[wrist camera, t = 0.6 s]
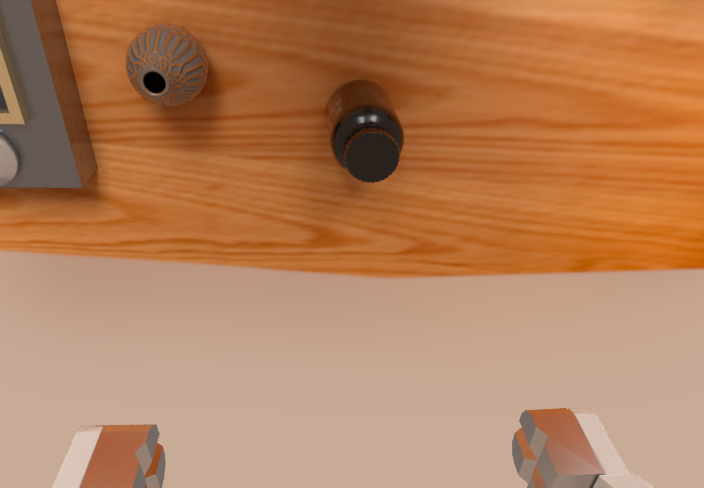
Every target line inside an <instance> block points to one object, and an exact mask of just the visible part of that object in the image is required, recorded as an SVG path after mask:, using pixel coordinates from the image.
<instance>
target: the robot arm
mask: <svg viewBox="0 0 704 488" xmlns="http://www.w3.org/2000/svg"><path fill="white" fill-rule="evenodd" d="M519 421H520V423H521V426H522V428H521V429H519V430H518V431H517V432H515V434H514V438H513V441H512V454H513V459H514V464H515V467H516V469H517V472H518V475H519V476H520V477H522V478H523V479H524V480H525V481H526V482H527V483H528V487H527V488H654V487H653V486H652V485H650V484H649V483H648V482H646V481H645V480H644V479H642V478H641V477H640V476H639V475H637V474H635V473H634V474H632V473H629V472H628V470H627V468H626V467H625V465H624V463H623V461H622V459H621V458H620V456H619V454H618V452H617V451H616V449H615V447H614V445H613V444H612V442H611V440H610V438H609V436H608V435H607V433H606V431H605V429H604V428H603V426H602V424H601V422H600V420H599V419H598V417H597V415H596V414H595V412H594V411H593V410H592V409H591V408H575V409H566V408H560V409H541V410H525V411H524V412H523V413H522V414H521V417H520V420H519ZM158 437H159V431H158V429H157V425H100V426H99V425H98V426H81V427H80V429H79V430H78V431H77V432H76V433H75V435H74V438H73V440H72V442H71V445H70V447H69V449H68V451H67V454H66V456H65V458H64V460H63V463H62V465H61V467H60V470H59V472H58V474H57V477H56V479H55V481H54V484H53V486H52V488H162V485H163V480H164V472H165V453H164V449H163V446H161V445H160V444H158V443H157V441H158Z"/></svg>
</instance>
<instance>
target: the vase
mask: <svg viewBox="0 0 704 488" xmlns="http://www.w3.org/2000/svg"><path fill="white" fill-rule="evenodd" d="M126 69H127V74H128V77H129V80H130V82H131V84H132V85H133V87H134V88H135V90H136V91H137V92H138V93H139V94H140V95H141V96H142V97H144V98H145V99H146V100H148V101H150V102H152V103H154V104H157V105H160V106H166V107H174V106H180V105H183V104H186V103H188V102H190V101H191V100H193V99H194V98H195V97H196V96H197V95H198V94H199V93H200V92H201V90H202V89H203V87H204V85H205V83H206V80H207V76H208V60H207V56H206V53H205V51H204V49H203V47H202V45H201V44H200V42H199V41H198V40H197V39H196V38H195V37H194V36H193V35H192V34H191V33H189V32H188V31H186V30H185V29H183V28H181V27H178V26H175V25H170V24H158V25H154V26H151V27H148V28H146V29H144V30H143V31H141V32H140V33H139V34H138V35H137V36H136V37H135V38H134V39H133V40H132V42H131V44H130V46H129V48H128V51H127V56H126Z"/></svg>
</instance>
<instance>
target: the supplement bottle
mask: <svg viewBox="0 0 704 488" xmlns="http://www.w3.org/2000/svg"><path fill="white" fill-rule="evenodd" d="M327 121H328V129H329V136H330V143H331V148H332V152H333V155H334V157H335V158H336V160H337V161H338V163H339V164H340V165H341V166H342V167H343V168H345V169H346V170H348V171H350V174H352V175H353V176H354V177H355V178H357V179H358V180H361V181H363V182H365V181H366V182H379V181H380V180H384V179H385V178H387V177H388V176H389V175H391V174H392V172H393V171H395V168H396V167H397V166H398V162H399V156H400V154H401V151H402V148H403V144H404V132H403V128H402V125H401V123H400V121H399V118H398V116H397V114H396V112H395V110H394V108H393V105H392V103H391V101H390V99H389V97H388V95H387V94H386V92H385V91H384V90H383V89H382V88H381V87H380V86H378V85H377V84H375V83H373V82H370V81H367V80H354V81H350V82H347V83H345V84H343V85H342V86H340V87H339V88H338V89H337V90H336V91H335V92H334V93H333V95H332V96H331V98H330V100H329V103H328V107H327Z"/></svg>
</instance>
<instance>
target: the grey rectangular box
mask: <svg viewBox="0 0 704 488" xmlns="http://www.w3.org/2000/svg"><path fill="white" fill-rule="evenodd" d="M96 170H97V165H96V161H95V157H94V153H93V149H92V145H91V141H90V138H89V134H88V130H87V126H86V122H85V118H84V114H83V110H82V106H81V102H80V98H79V94H78V90H77V86H76V82H75V78H74V74H73V70H72V66H71V62H70V58H69V54H68V50H67V46H66V42H65V38H64V34H63V30H62V26H61V22H60V18H59V14H58V10H57V6H56V2H55V0H0V187H14V188H83V186H84V185H85V184H86V182H87V181H88V180H89V179H90V177H91V176H92V175H93V173H94V172H95V171H96Z"/></svg>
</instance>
